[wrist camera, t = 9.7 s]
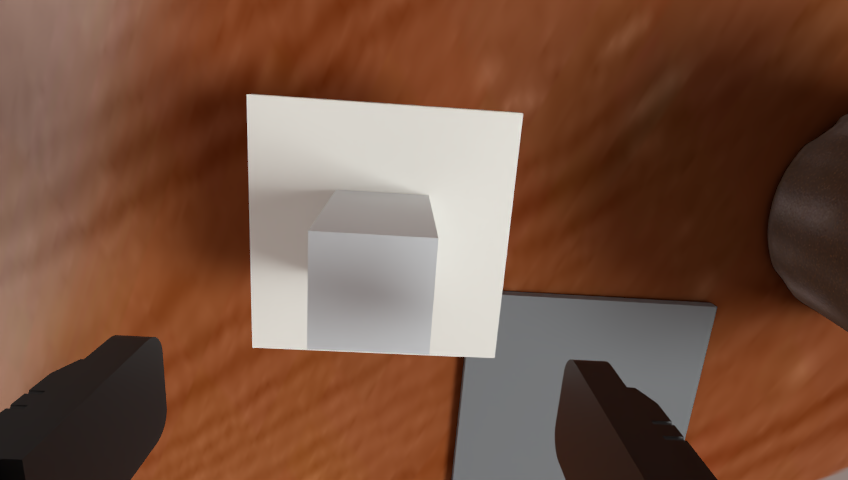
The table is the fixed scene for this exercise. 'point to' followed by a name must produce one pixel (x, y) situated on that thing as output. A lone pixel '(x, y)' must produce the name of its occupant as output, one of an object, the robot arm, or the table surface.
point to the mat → (544, 367)
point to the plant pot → (815, 225)
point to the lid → (378, 225)
